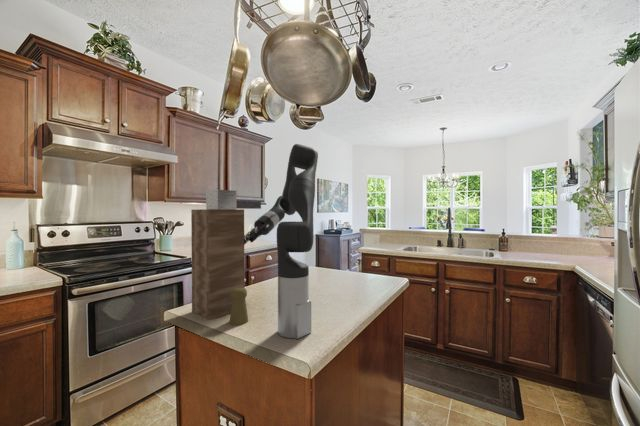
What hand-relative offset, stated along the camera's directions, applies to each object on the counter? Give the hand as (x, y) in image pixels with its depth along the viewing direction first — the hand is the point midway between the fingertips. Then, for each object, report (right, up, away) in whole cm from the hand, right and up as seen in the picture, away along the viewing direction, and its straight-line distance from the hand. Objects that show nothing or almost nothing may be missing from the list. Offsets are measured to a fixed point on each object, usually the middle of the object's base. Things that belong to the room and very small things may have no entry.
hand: (244, 243), depth 117 cm
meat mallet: (-2, +13, -3) cm, 14 cm away
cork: (+3, -24, -20) cm, 31 cm away
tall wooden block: (-7, -24, -9) cm, 26 cm away
